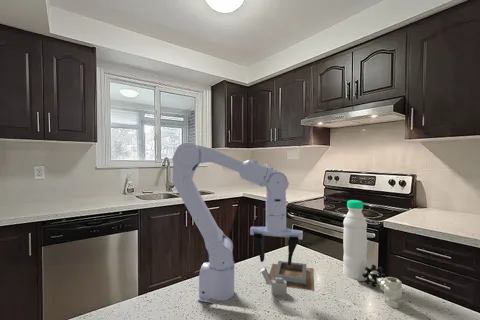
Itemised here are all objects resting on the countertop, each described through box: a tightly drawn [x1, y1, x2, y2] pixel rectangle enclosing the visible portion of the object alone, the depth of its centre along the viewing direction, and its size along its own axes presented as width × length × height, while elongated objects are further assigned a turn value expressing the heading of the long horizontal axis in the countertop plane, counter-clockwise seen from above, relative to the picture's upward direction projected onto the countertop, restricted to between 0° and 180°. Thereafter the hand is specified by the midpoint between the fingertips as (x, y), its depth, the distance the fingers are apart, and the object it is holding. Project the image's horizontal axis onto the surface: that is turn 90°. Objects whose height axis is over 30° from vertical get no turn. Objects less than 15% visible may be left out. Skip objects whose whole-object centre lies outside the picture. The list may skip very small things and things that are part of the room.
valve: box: [362, 263, 403, 309], centre depth 70 cm, size 7×7×12 cm
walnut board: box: [265, 263, 315, 291], centre depth 80 cm, size 14×15×1 cm
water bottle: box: [342, 199, 368, 282], centre depth 81 cm, size 7×7×25 cm
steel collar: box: [274, 260, 307, 286], centre depth 80 cm, size 9×11×2 cm
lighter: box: [260, 266, 288, 296], centre depth 69 cm, size 7×2×8 cm, turn 86°
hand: (275, 262), depth 70 cm, fingers open, 7 cm apart
